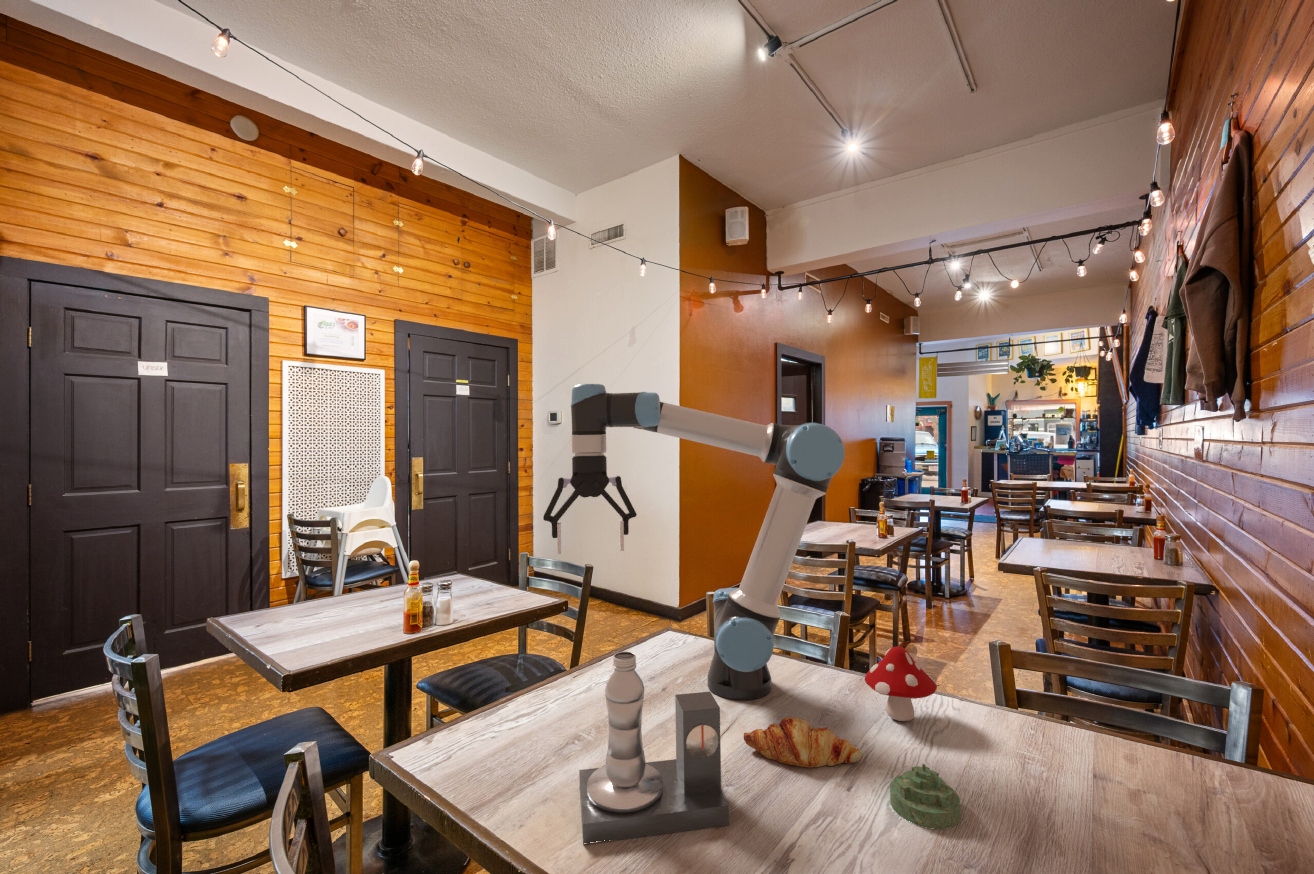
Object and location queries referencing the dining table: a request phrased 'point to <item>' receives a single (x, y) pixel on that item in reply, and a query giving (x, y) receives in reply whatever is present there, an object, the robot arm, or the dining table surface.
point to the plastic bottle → (625, 722)
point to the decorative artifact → (925, 799)
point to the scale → (672, 782)
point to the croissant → (802, 744)
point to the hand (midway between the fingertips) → (590, 551)
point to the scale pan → (624, 791)
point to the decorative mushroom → (900, 682)
